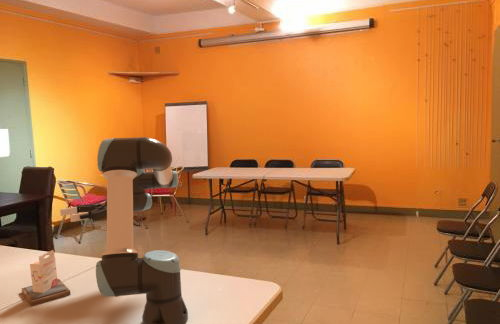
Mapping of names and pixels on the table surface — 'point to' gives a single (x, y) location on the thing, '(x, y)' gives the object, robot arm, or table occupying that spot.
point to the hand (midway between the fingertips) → (65, 215)
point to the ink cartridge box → (44, 273)
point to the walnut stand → (45, 293)
